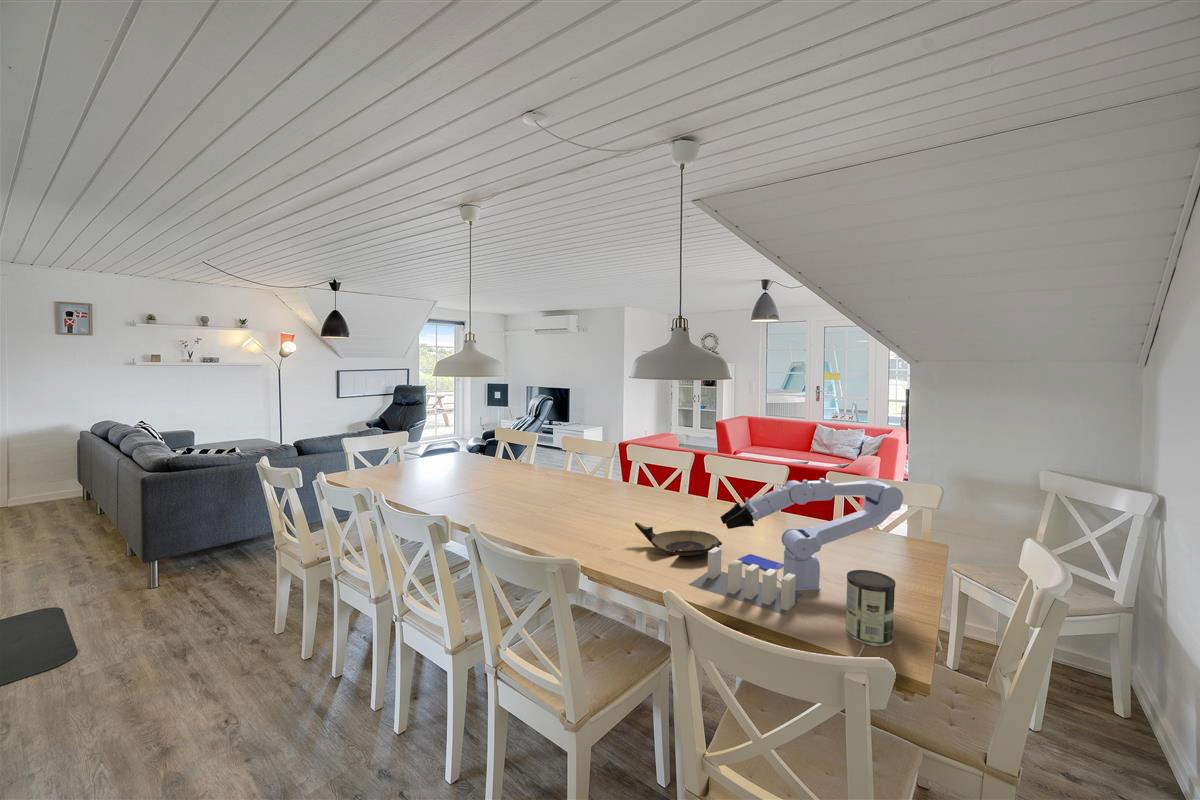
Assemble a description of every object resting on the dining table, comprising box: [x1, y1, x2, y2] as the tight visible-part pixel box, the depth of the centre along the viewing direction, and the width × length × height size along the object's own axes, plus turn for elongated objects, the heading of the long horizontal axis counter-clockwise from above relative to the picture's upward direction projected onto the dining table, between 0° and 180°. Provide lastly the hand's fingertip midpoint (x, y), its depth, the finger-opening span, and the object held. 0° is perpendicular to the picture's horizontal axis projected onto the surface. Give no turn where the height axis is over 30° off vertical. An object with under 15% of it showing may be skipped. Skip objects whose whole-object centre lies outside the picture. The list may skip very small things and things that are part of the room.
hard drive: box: [737, 553, 784, 572], centre depth 166 cm, size 2×8×12 cm
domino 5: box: [780, 573, 796, 612], centre depth 137 cm, size 2×5×8 cm, turn 141°
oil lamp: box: [634, 522, 723, 557], centre depth 178 cm, size 22×30×8 cm
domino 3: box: [744, 564, 760, 600], centre depth 143 cm, size 2×5×8 cm, turn 141°
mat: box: [688, 570, 804, 615], centre depth 147 cm, size 28×15×1 cm, turn 51°
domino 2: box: [727, 559, 743, 594], centre depth 146 cm, size 2×5×8 cm, turn 141°
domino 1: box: [707, 547, 723, 579], centre depth 156 cm, size 2×5×8 cm, turn 141°
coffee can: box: [845, 569, 896, 647], centre depth 123 cm, size 10×10×14 cm
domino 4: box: [762, 569, 778, 605], centre depth 140 cm, size 2×5×8 cm, turn 141°
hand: (724, 522), depth 149 cm, fingers open, 7 cm apart
